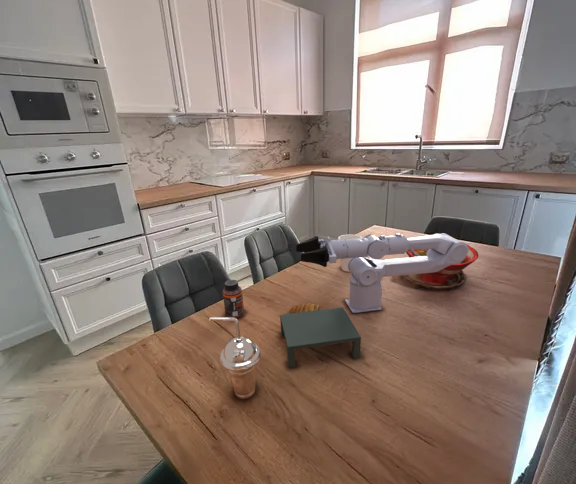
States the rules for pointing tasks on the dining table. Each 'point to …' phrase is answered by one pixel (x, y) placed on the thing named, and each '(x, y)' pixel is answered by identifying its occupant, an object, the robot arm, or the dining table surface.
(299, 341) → the bench
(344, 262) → the foam cup
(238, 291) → the supplement bottle
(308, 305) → the pastry
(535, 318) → the dining table surface
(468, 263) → the stew
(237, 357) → the cup with straw
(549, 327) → the dining table surface
